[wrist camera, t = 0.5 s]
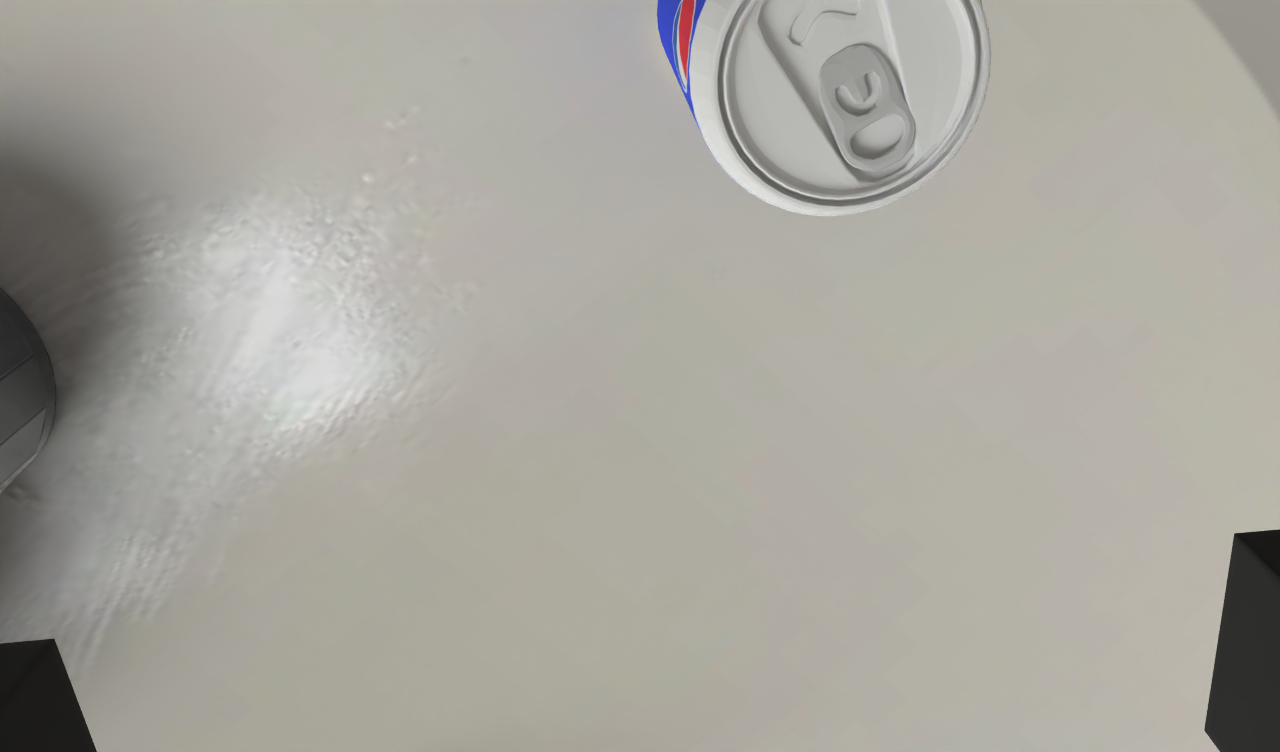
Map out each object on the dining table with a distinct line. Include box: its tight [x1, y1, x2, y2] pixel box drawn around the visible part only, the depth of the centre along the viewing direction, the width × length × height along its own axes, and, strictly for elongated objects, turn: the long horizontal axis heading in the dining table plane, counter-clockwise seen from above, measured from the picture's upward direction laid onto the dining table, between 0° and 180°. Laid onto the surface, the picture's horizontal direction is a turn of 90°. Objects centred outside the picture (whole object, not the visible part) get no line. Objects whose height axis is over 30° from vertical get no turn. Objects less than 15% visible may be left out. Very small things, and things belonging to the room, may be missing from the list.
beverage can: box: [657, 0, 991, 216], centre depth 24 cm, size 5×5×15 cm
